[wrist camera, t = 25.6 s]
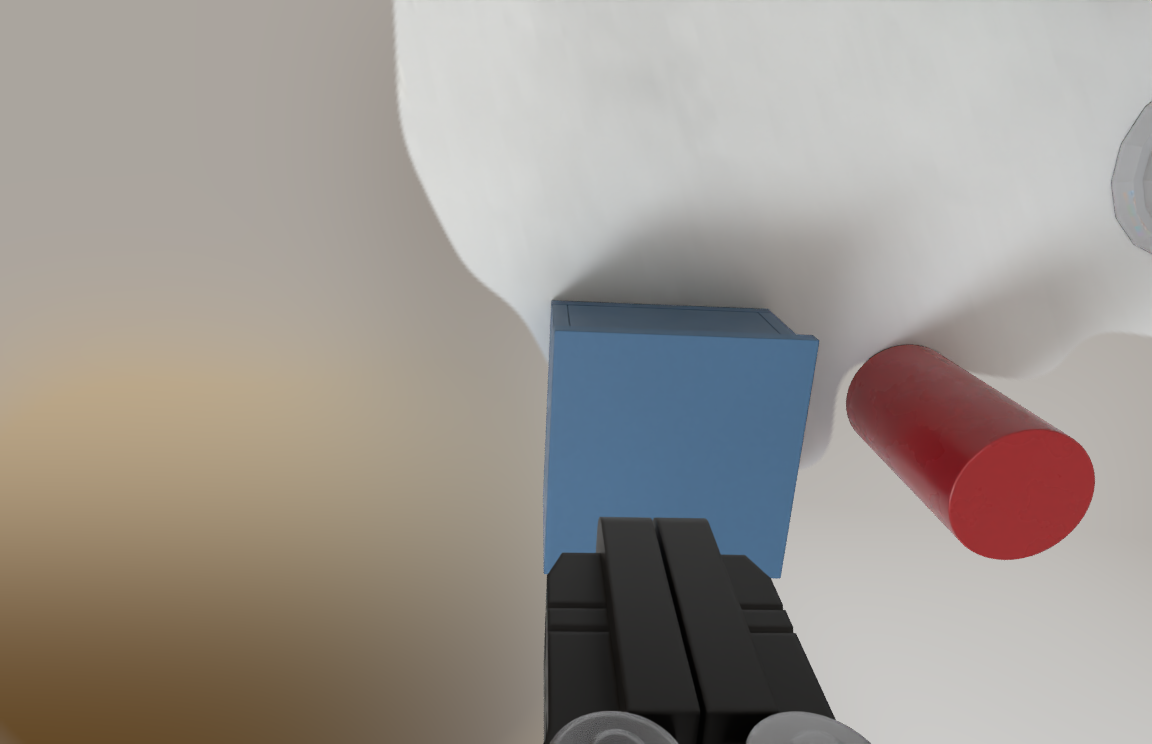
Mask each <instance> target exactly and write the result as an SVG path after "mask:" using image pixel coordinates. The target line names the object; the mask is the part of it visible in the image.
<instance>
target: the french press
mask: <svg viewBox="0 0 1152 744" xmlns="http://www.w3.org/2000/svg"><path fill="white" fill-rule="evenodd" d="M1111 183H1112V191H1113V199H1114V207H1115V215H1116V219H1117V220H1118V222H1119V223H1120V225H1121V226H1122V228H1123V229H1124V231H1125V232H1126V234H1127V235H1128V237H1129V238H1130V240H1131V241H1132V243H1133V244H1134V245H1136V246H1138V247H1140V248H1142V249H1144V250H1146V251H1148V252H1150V253H1152V102H1151V103H1150V104H1148V105H1147V106H1146V107H1145V108H1144V110H1143V111H1142V113H1141V114H1140V116H1139V117H1138V119H1137V121H1136V122H1135V124H1134V125H1133V127H1132V128H1131V130H1130V131H1129V133H1128V134H1127V136H1126V138H1125V139H1124V141H1123V142H1122V144H1121V147H1120V151H1119V155H1118V159H1117V163H1116V167H1115V171H1114V174H1113V178H1112V182H1111Z"/></svg>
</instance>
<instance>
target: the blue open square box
mask: <svg viewBox="0 0 1152 744" xmlns="http://www.w3.org/2000/svg"><path fill="white" fill-rule="evenodd" d="M555 325H558V326H584V327H610V328H637V329H663V330H689V331H716V332H742V333H768V334H794V335H796V334H795V333H794V332H793V331H792V330H791V329H790V328H788V327H787V326H786V325H785V324H784V323H783V322H782V321H781V320H780V319H779V318H778V317H776V316H775V315H774V314H773V313H772V312H771V311H770V310H769V309H755V308H730V307H705V306H680V305H655V304H630V303H605V302H580V301H555V300H552V301H551V324H550V347H549V372H548V394H547V418H546V442H545V465H544V489H543V525H544V526H543V529H544V530H543V531H544V532H543V533H544V535H543V536H544V546H545V523H546V501H547V478H548V456H549V433H550V410H551V388H552V365H553V343H554V326H555Z"/></svg>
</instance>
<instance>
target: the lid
mask: <svg viewBox="0 0 1152 744" xmlns="http://www.w3.org/2000/svg"><path fill="white" fill-rule="evenodd" d="M818 346H819V340H818V339H817V338H816V337H814V336H813V335H794V334H768V333H742V332H716V331H689V330H663V329H637V328H610V327H584V326H558V325H555V326H554V343H553V365H552V388H551V410H550V433H549V456H548V478H547V501H546V523H545V546H544V574H548V573H549V572H550V570H551V569H552V567H553V566H554V564H555V563H556V561H557V560H558V558H559V557H560V555H561V553H596V540H597V526H598V520H599V517H643V518H651V519H652V521H653V519H654V518H705V519H707V520H708V522H709V525H710V527H711V530H712V532H713V535H714V538H715V540H716V543H717V546H718V548H719V551H720V554H721V555H746V556H747V557H748V558H749V559H750V560H751V561H752V562H753V563H755V564H756V565H757V566H758V567H759V568H760V569H761V570H762V571H763V572H764V573H766V574H767V575H768V576H769V577H770V578H780V577H781V571H782V565H783V559H784V553H785V546H786V541H787V535H788V529H789V522H790V517H791V511H792V504H793V498H794V492H795V486H796V480H797V474H798V468H799V462H800V456H801V450H802V443H803V437H804V431H805V425H806V419H807V413H808V407H809V401H810V395H811V389H812V382H813V376H814V370H815V364H816V358H817V352H818Z"/></svg>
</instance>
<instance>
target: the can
mask: <svg viewBox="0 0 1152 744" xmlns="http://www.w3.org/2000/svg"><path fill="white" fill-rule="evenodd" d="M846 410H847V415H848V418H849V421H850V423H851V425H852V427H853V429H854V430H855V431H856V432H857V434H858V435H859V436H860V437H861V438H862V439H863V440H864V441H865V442H866V443H867V444H868V445H869V446H870V447H871V448H872V449H873V450H874V451H875V452H876V454H877V455H878V456H879V457H880V458H881V459H882V460H883V461H884V462H885V463H886V464H887V465H888V466H889V467H890V468H891V469H892V470H893V471H894V473H895V474H897V476H898V477H899V478H900V479H901V480H902V481H903V482H904V483H905V484H906V485H907V486H908V487H909V488H910V489H911V490H912V491H913V492H914V494H916V496H917V497H918V498H919V499H920V500H921V501H922V502H923V503H924V504H925V505H926V506H927V507H928V508H929V509H930V510H931V511H932V512H933V513H934V514H935V516H936V517H937V518H938V519H939V520H940V521H941V522H942V523H943V524H944V525H945V526H946V527H947V528H948V529H949V530H950V531H951V532H952V533H953V534H954V535H955V537H956V538H957V539H958V540H959V541H960V542H961V543H962V544H963V545H964V546H965V547H967V548H968V549H970V550H971V551H973V552H975V553H977V554H979V555H982V556H984V557H988V558H993V559H1001V560H1013V559H1020V558H1025V557H1029V556H1033V555H1035V554H1038V553H1041V552H1043V551H1045V550H1046V549H1049V548H1050V547H1052V546H1054V545H1055V544H1057V543H1059V542H1060V541H1061V540H1062V539H1064V538H1065V537H1066V536H1067V535H1068V534H1069V533H1070V532H1072V530H1073V529H1074V528H1075V527H1076V526H1077V525H1078V524H1079V522H1080V521H1081V519H1082V518H1083V517H1084V515H1085V513H1086V511H1087V509H1088V507H1089V505H1090V502H1091V500H1092V497H1093V492H1094V486H1095V476H1094V469H1093V465H1092V462H1091V460H1090V457H1089V456H1088V454H1087V453H1086V451H1085V450H1084V448H1083V447H1082V446H1081V445H1080V444H1079V443H1078V442H1076V441H1075V440H1074V439H1073V438H1071V437H1070V436H1068V435H1066V434H1065V433H1063V432H1062V431H1060V430H1059V429H1057V428H1055V427H1054V426H1052V425H1051V424H1049V423H1047V422H1046V421H1044V420H1043V419H1041V418H1040V417H1038V416H1037V415H1035V414H1033V413H1032V412H1030V411H1029V410H1027V409H1026V408H1024V407H1022V406H1021V405H1019V404H1018V403H1016V402H1015V401H1013V400H1011V399H1010V398H1008V397H1007V396H1005V395H1003V394H1002V393H1000V392H999V391H997V390H996V389H994V388H992V387H991V386H989V385H987V384H986V383H985V382H983V381H981V380H979V379H978V378H976V377H975V376H974V375H972V374H970V373H969V372H967V371H966V370H964V369H963V368H961V367H959V366H958V365H956V364H955V363H953V362H952V361H950V360H948V359H947V358H945V357H944V356H942V355H941V354H939V353H937V352H936V351H934V350H932V349H930V348H927V347H924V346H920V345H900V346H895V347H891V348H888V349H886V350H884V351H881V352H880V353H878V354H876V355H875V356H873V357H872V358H870V359H869V360H868V361H867V362H866V363H865V364H864V365H863V366H862V367H861V368H860V369H859V370H858V372H857V373H856V374H855V376H854V378H853V380H852V381H851V384H850V386H849V389H848V393H847V400H846Z"/></svg>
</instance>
